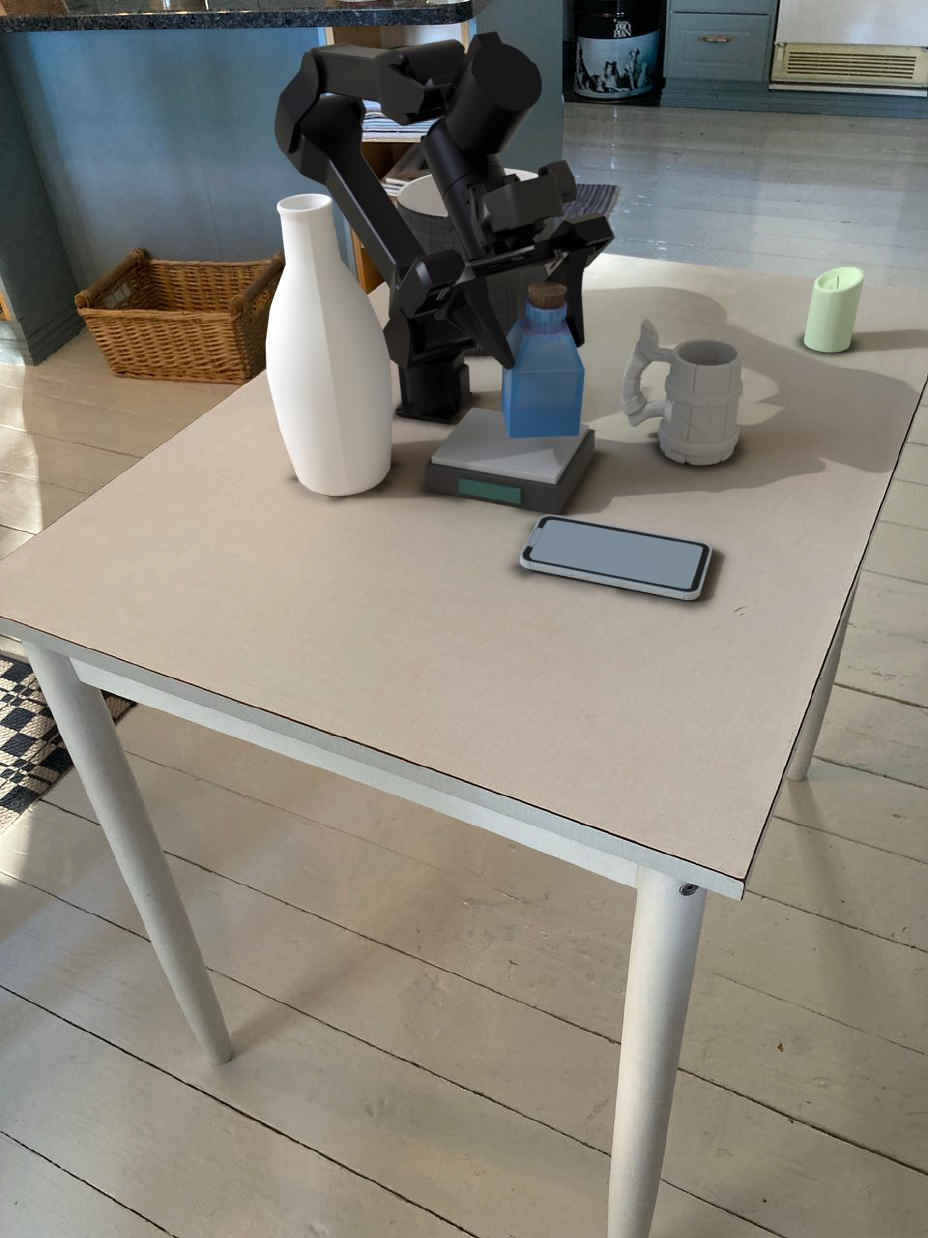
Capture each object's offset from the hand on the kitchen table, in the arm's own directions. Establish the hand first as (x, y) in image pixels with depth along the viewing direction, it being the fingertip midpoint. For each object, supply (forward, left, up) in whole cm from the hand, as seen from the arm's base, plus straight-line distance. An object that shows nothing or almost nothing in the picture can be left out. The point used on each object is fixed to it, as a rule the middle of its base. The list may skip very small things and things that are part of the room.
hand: (546, 356), depth 84 cm
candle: (+20, +39, -14) cm, 46 cm away
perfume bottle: (-1, +1, -7) cm, 7 cm away
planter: (-20, +33, -14) cm, 41 cm away
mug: (+9, +12, -14) cm, 21 cm away
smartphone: (+9, -8, -13) cm, 18 cm away
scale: (-4, +2, -13) cm, 14 cm away
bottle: (-20, -3, -14) cm, 24 cm away
